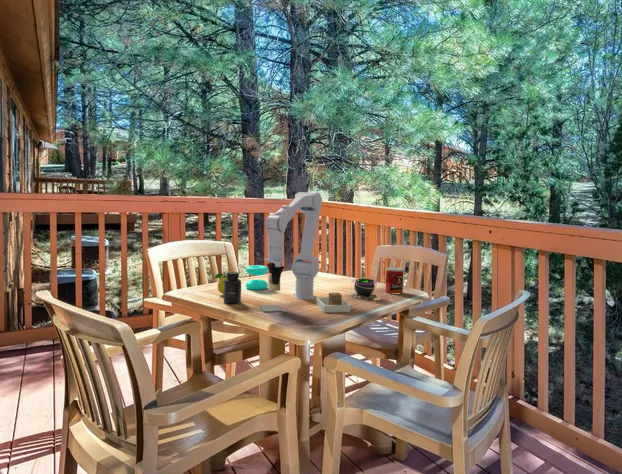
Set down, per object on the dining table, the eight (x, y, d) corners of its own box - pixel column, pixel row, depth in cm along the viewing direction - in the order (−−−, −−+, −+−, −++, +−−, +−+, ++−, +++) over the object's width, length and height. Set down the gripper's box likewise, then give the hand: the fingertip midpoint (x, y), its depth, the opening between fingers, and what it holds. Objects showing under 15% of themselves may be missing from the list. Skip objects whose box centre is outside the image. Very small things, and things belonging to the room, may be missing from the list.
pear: (214, 294, 213) (214, 270, 212) (227, 292, 217) (227, 269, 216) (220, 297, 208) (220, 273, 207) (233, 295, 211) (233, 272, 210)
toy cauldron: (362, 303, 203) (363, 276, 202) (339, 296, 215) (339, 271, 214) (389, 299, 212) (390, 273, 211) (365, 292, 224) (366, 268, 223)
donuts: (253, 269, 220) (241, 265, 227) (253, 291, 221) (241, 287, 228) (272, 267, 226) (259, 264, 234) (272, 288, 227) (259, 285, 235)
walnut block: (328, 308, 191) (328, 292, 191) (338, 308, 192) (339, 292, 191) (330, 311, 187) (331, 295, 187) (341, 310, 188) (341, 295, 187)
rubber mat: (260, 306, 194) (260, 305, 194) (283, 305, 196) (283, 304, 196) (263, 312, 185) (263, 311, 185) (287, 311, 187) (287, 310, 187)
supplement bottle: (228, 305, 194) (228, 274, 193) (220, 301, 200) (220, 272, 199) (244, 303, 198) (244, 273, 197) (236, 299, 204) (236, 270, 203)
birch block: (278, 288, 192) (278, 272, 191) (280, 290, 188) (280, 274, 187) (268, 288, 191) (268, 273, 190) (269, 290, 187) (269, 274, 187)
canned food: (391, 295, 220) (392, 270, 219) (381, 291, 227) (382, 267, 226) (406, 294, 223) (407, 269, 222) (396, 290, 230) (397, 266, 229)
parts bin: (315, 304, 199) (316, 297, 198) (340, 304, 201) (341, 296, 200) (323, 313, 185) (323, 305, 185) (350, 313, 187) (350, 305, 187)
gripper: (262, 244, 194) (261, 279, 196) (267, 249, 180) (266, 287, 182) (280, 244, 196) (279, 279, 197) (286, 249, 182) (286, 286, 183)
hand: (274, 283), depth 189 cm, fingers closed on birch block, 4 cm apart
